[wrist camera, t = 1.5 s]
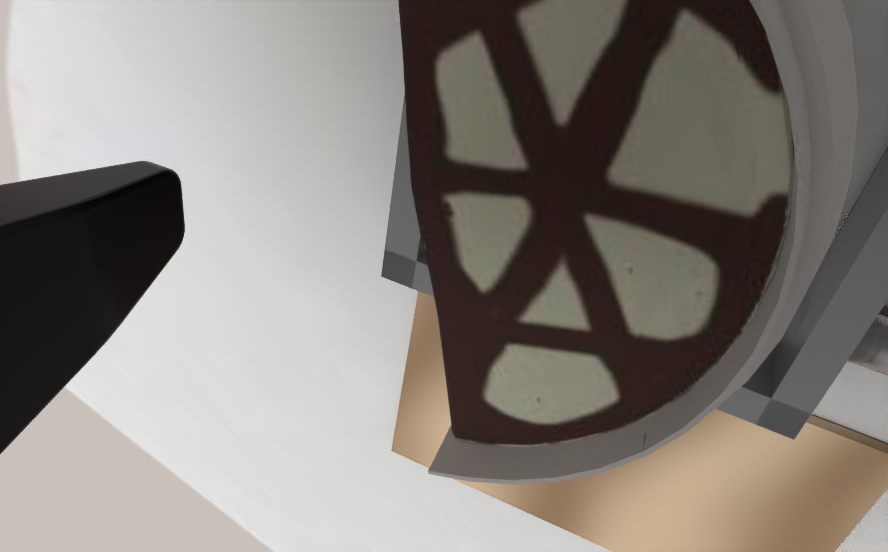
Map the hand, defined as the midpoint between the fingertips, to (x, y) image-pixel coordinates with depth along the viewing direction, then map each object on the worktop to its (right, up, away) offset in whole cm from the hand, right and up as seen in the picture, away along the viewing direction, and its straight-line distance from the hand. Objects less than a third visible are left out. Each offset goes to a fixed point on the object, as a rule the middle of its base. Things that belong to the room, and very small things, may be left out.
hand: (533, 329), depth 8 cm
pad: (+5, -5, +17) cm, 19 cm away
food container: (+5, +7, +10) cm, 13 cm away
